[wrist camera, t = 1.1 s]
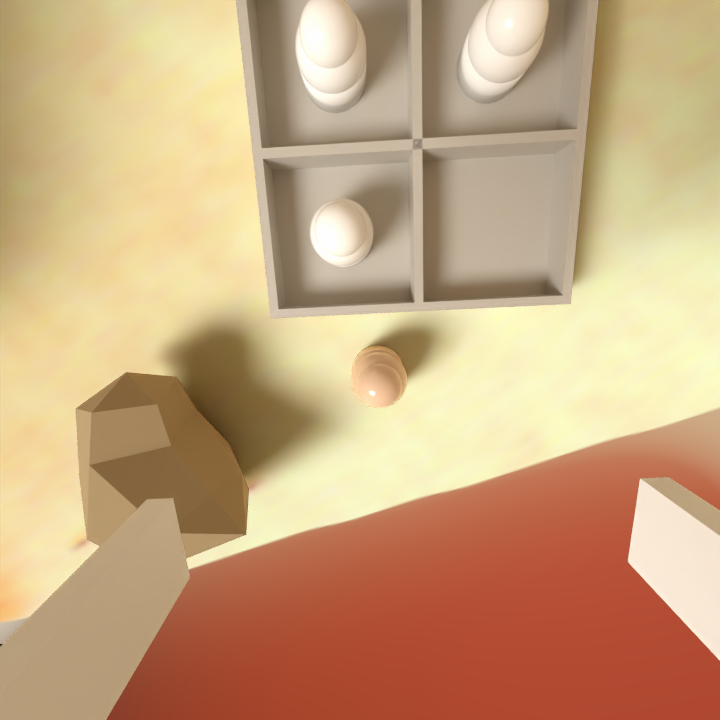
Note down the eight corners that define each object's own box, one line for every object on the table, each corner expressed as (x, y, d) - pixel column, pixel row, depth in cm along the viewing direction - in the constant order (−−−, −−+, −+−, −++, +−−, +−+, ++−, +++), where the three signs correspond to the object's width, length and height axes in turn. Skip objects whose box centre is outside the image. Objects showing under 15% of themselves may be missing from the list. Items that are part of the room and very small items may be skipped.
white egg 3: (456, 105, 23) (485, 50, 17) (457, 31, 22) (488, -53, 16) (518, 101, 23) (568, 44, 17) (522, 27, 22) (576, -59, 16)
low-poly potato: (261, 517, 32) (312, 469, 25) (144, 633, 23) (169, 611, 16) (162, 402, 34) (182, 325, 26) (21, 470, 25) (-7, 385, 18)
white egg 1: (306, 115, 23) (288, 63, 18) (301, 42, 22) (279, -37, 17) (367, 111, 23) (368, 58, 18) (364, 37, 22) (364, -43, 17)
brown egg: (353, 395, 29) (350, 423, 23) (350, 346, 28) (347, 363, 22) (403, 393, 28) (412, 420, 23) (402, 344, 27) (412, 360, 22)
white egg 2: (318, 268, 26) (305, 265, 20) (313, 209, 25) (298, 188, 19) (373, 266, 25) (376, 262, 20) (371, 205, 24) (373, 184, 19)
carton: (281, 314, 27) (270, 318, 24) (248, -8, 22) (230, -52, 19) (547, 301, 26) (570, 303, 24) (573, -32, 22) (606, -81, 19)
